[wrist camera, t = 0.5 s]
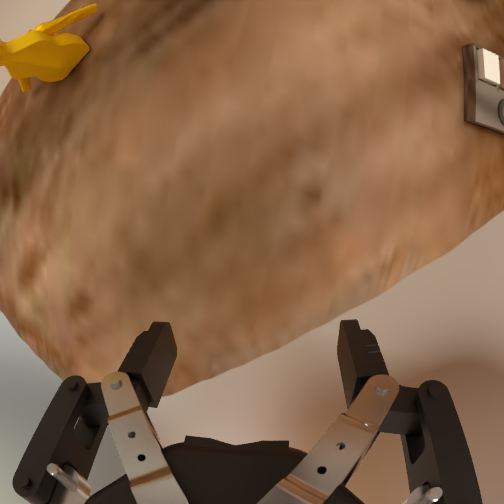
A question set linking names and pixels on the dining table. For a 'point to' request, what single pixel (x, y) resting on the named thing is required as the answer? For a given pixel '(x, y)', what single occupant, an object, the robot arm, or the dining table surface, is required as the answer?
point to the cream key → (488, 67)
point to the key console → (481, 94)
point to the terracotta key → (501, 74)
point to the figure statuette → (45, 50)
